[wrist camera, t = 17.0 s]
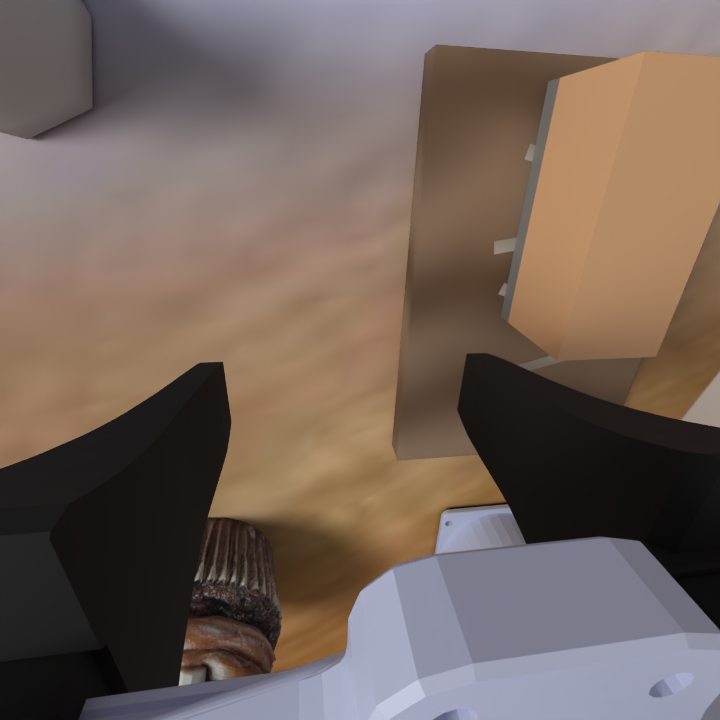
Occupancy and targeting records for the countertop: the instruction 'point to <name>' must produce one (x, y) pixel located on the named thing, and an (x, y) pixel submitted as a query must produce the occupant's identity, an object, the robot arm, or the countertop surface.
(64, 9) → the flask
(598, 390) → the board
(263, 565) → the cupcake
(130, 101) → the countertop surface
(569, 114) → the block
